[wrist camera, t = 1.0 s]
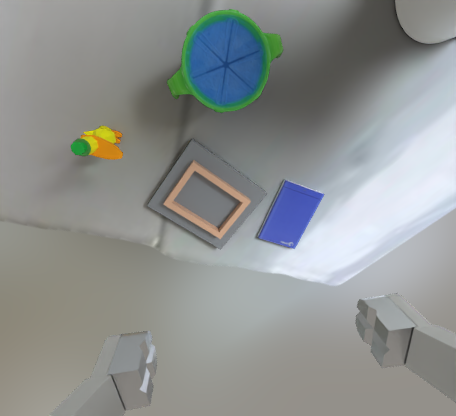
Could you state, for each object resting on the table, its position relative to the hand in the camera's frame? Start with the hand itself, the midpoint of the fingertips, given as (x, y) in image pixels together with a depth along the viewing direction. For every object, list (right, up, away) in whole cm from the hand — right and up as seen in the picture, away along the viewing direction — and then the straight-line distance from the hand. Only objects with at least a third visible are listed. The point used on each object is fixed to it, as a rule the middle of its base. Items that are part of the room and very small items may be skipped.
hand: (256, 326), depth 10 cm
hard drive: (+11, +4, +41) cm, 43 cm away
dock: (-5, +7, +38) cm, 38 cm away
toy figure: (-19, +16, +32) cm, 41 cm away
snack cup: (-2, +26, +30) cm, 39 cm away
